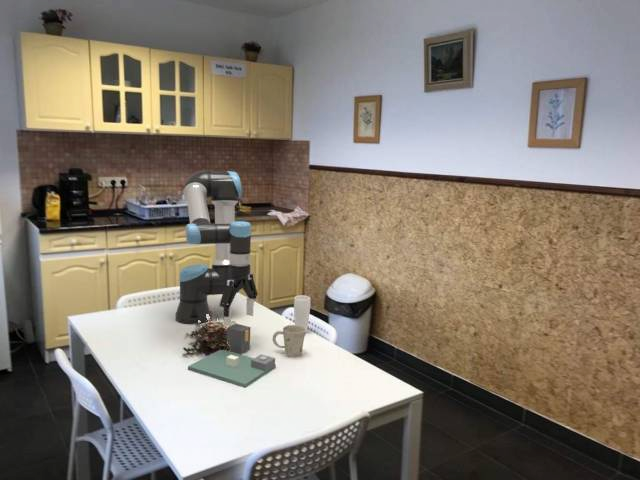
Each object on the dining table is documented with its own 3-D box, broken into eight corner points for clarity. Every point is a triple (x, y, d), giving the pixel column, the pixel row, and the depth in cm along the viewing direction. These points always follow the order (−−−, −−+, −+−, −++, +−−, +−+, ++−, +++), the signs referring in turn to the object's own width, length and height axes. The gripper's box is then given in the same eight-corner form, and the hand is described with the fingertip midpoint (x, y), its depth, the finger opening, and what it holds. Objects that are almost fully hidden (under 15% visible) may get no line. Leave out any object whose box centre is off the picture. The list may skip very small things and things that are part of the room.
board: (188, 369, 176) (188, 357, 176) (221, 352, 192) (221, 341, 191) (245, 387, 165) (245, 375, 165) (275, 367, 181) (276, 356, 180)
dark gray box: (226, 350, 194) (226, 327, 192) (235, 345, 198) (236, 323, 197) (242, 354, 190) (242, 331, 189) (251, 349, 195) (251, 327, 194)
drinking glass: (308, 335, 213) (310, 300, 210) (292, 334, 213) (293, 299, 210) (309, 329, 219) (311, 295, 217) (293, 328, 220) (294, 294, 217)
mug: (301, 359, 189) (302, 333, 187) (268, 355, 191) (269, 329, 189) (306, 351, 197) (307, 326, 195) (274, 347, 199) (275, 322, 197)
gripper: (226, 271, 176) (226, 331, 179) (267, 259, 198) (266, 313, 201) (209, 268, 179) (209, 327, 183) (251, 257, 201) (250, 309, 205)
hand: (239, 319), depth 192 cm, fingers open, 13 cm apart
